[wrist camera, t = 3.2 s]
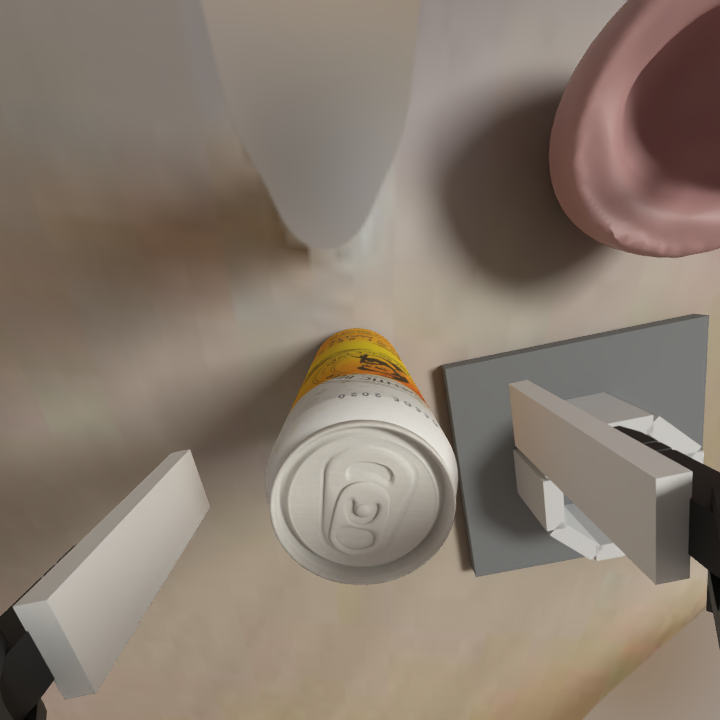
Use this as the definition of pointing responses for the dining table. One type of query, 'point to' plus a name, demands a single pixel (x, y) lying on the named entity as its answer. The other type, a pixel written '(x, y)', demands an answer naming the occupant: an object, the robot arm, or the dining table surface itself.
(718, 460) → the dining table surface
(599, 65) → the mortar and pestle
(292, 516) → the beer can
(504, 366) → the socket
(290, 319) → the dining table surface
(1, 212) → the dining table surface
